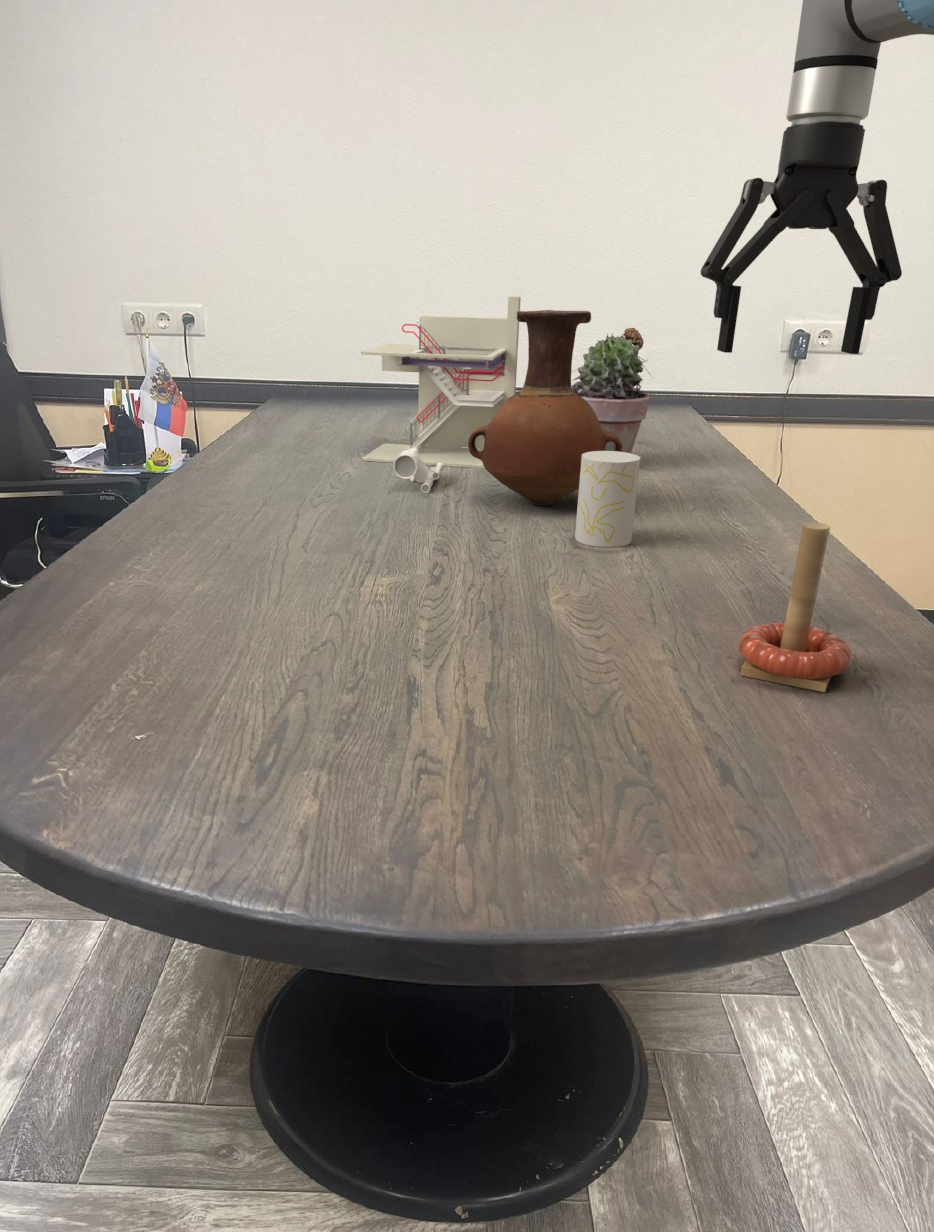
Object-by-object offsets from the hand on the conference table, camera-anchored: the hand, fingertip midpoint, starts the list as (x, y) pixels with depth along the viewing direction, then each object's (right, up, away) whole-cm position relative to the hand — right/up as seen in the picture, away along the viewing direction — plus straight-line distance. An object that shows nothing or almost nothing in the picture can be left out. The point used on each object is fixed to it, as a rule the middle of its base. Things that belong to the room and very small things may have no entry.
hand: (787, 352), depth 102 cm
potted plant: (-4, +8, +85) cm, 86 cm away
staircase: (-36, +10, +89) cm, 96 cm away
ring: (-2, -32, -7) cm, 33 cm away
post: (-2, -34, -6) cm, 35 cm away
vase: (-19, -6, +56) cm, 59 cm away
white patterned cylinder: (-13, -15, +37) cm, 42 cm away
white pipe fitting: (-40, 0, +68) cm, 79 cm away
